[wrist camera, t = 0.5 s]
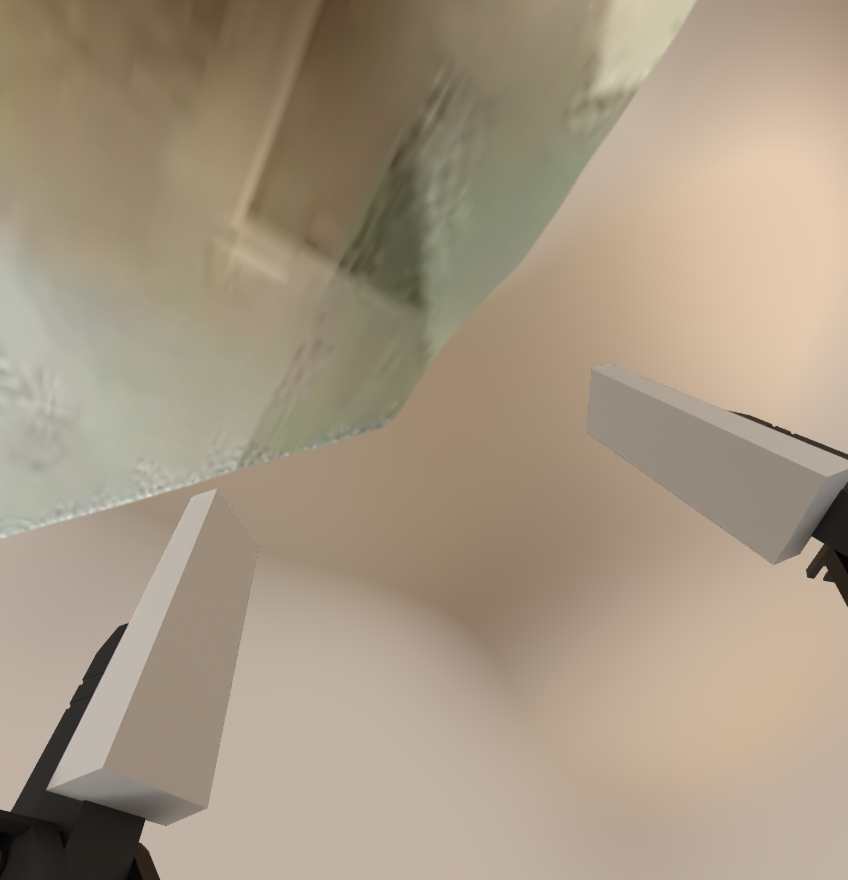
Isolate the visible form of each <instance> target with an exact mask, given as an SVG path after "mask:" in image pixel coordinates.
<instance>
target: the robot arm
mask: <svg viewBox="0 0 848 880" xmlns="http://www.w3.org/2000/svg"><path fill="white" fill-rule="evenodd" d="M586 433H587V434H589V435H590V436H592V437H593V438H595V439H596V440H597V441H599V442H600V443H602V444H603V445H604V446H606V447H608V448H609V449H610V450H612V451H613V452H614V453H616V454H617V455H619V456H620V457H622V458H623V459H624V460H626V461H627V462H628V463H630V464H632V465H633V466H634V467H636V468H637V469H638V470H640V471H641V472H643V473H644V474H645V475H647V476H648V477H650V478H651V479H653V480H654V481H655V482H657V483H658V484H660V485H661V486H663V487H664V488H665V489H667V490H668V491H669V492H671V493H672V494H674V495H675V496H677V497H678V498H680V499H681V500H682V501H684V502H685V503H687V504H688V505H689V506H691V507H692V508H694V509H695V510H696V511H698V512H699V513H701V514H702V515H704V516H705V517H707V518H708V519H709V520H711V521H712V522H713V523H715V524H716V525H718V526H719V527H720V528H722V529H723V530H725V531H726V532H727V533H729V534H730V535H732V536H733V537H735V538H736V539H737V540H739V541H740V542H742V543H743V544H745V545H746V546H747V547H749V548H750V549H752V550H753V551H754V552H756V553H757V554H759V555H760V556H761V557H763V558H764V559H766V560H767V561H769V562H770V563H771V564H773V565H775V564H777V563H780V562H782V561H784V560H787V559H789V558H791V557H794V556H796V555H798V554H800V553H801V551H802V550H803V548H804V547H805V545H806V544H807V542H808V541H809V539H810V538H811V536H812V537H814V538H816V539H817V540H819V541H821V542H822V543H824V545H823V547H822V548H821V549H820V551H819V552H818V554H817V555H816V557H815V558H814V559H813V561H812V562H811V564H810V565H809V566H808V568H807V569H806V572H807V577H808V578H813V579H814V578H815V577H816V575H817V574H818V573H819V571H820V570H821V569H822V567H823V566H826V567H827V569H828V572H827V573H826V574H825V576H824V578H823V580H824V581H828V582H834V583H835V584H836V586H837V588H838V589H839V592H840V593H841V595H842V597H843V599H844V601H845V603H846V605H847V606H848V454H845V453H843V452H840V451H838V450H835V449H833V448H830V447H828V446H825V445H823V444H820V443H818V442H815V441H813V440H810V439H808V438H805V437H803V436H800V435H798V434H791V432H790V431H788V430H785V429H783V428H780V427H778V426H776V427H773V426H772V424H770V423H768V422H765V421H763V420H760V419H758V418H755V417H752V416H750V415H746V414H741V413H737V412H732V411H727V410H724V409H722V408H720V407H717V406H715V405H712V404H710V403H707V402H705V401H702V400H700V399H698V398H695V397H692V396H690V395H688V394H685V393H683V392H680V391H678V390H676V389H673V388H671V387H668V386H666V385H663V384H661V383H658V382H656V381H654V380H651V379H649V378H646V377H644V376H641V375H639V374H636V373H634V372H632V371H629V370H627V369H624V368H622V367H619V366H617V365H614V364H612V363H608V364H605V365H601V366H598V367H595V368H592V369H591V379H590V392H589V405H588V417H587V429H586ZM258 548H259V545H258V543H257V542H256V541H255V539H254V538H253V536H252V535H251V534H250V532H249V531H248V530H247V528H246V527H245V526H244V524H243V523H242V521H241V520H240V519H239V517H238V516H237V514H236V513H235V512H234V510H233V509H232V508H231V506H230V505H229V503H228V502H227V501H226V499H225V498H224V497H223V495H222V494H221V492H220V491H219V490H218V489H214V490H211V491H208V492H205V493H202V494H198V495H195V496H193V497H192V498H191V500H190V502H189V504H188V506H187V508H186V510H185V512H184V514H183V516H182V518H181V520H180V522H179V524H178V526H177V528H176V530H175V532H174V534H173V536H172V538H171V540H170V542H169V544H168V546H167V548H166V550H165V552H164V554H163V556H162V558H161V560H160V562H159V564H158V566H157V568H156V570H155V572H154V574H153V576H152V578H151V580H150V582H149V584H148V586H147V588H146V591H145V592H144V594H143V596H142V599H141V600H140V602H139V604H138V606H137V608H136V610H135V612H134V615H133V616H132V618H131V621H130V622H129V623H128V624H124V625H121V626H119V627H118V628H117V629H116V630H115V632H114V633H113V634H112V635H111V636H110V638H109V639H108V640H107V641H106V642H105V644H104V645H103V646H102V647H101V648H100V650H99V651H98V652H97V654H96V655H95V657H94V659H93V661H92V663H91V665H90V666H89V668H88V670H87V672H86V674H85V676H84V678H83V679H82V680H83V684H82V685H79V687H78V689H77V691H76V693H75V694H74V696H73V698H72V700H71V702H70V708H69V709H66V711H65V713H64V715H63V717H62V718H61V720H60V722H59V724H58V726H57V728H56V729H55V731H54V733H53V735H52V737H51V739H50V741H49V742H48V744H47V746H46V748H45V750H44V752H43V753H42V755H41V757H40V759H39V761H38V763H37V764H36V766H35V768H34V770H33V772H32V774H31V776H30V777H29V779H28V781H27V783H26V785H25V787H24V789H23V790H22V792H21V794H20V796H19V798H18V800H17V801H16V803H15V805H14V807H13V809H12V810H11V812H8V811H3V810H0V880H160V878H159V876H158V873H157V871H156V868H155V866H154V863H153V861H152V858H151V856H150V854H149V851H148V850H147V849H146V848H145V847H144V846H143V845H142V844H141V843H139V839H140V836H141V833H142V829H143V826H144V823H145V820H147V821H151V822H154V823H158V824H161V825H164V826H167V825H169V824H172V823H174V822H176V821H178V820H181V819H183V818H185V817H188V816H190V815H192V814H195V813H197V812H199V811H202V810H204V809H207V807H208V803H209V797H210V792H211V787H212V782H213V777H214V772H215V767H216V762H217V757H218V751H219V747H220V742H221V737H222V731H223V726H224V721H225V716H226V710H227V705H228V701H229V695H230V690H231V686H232V680H233V675H234V670H235V665H236V660H237V655H238V650H239V645H240V640H241V634H242V630H243V624H244V619H245V614H246V609H247V604H248V599H249V594H250V589H251V584H252V578H253V573H254V568H255V563H256V558H257V553H258Z"/></svg>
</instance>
